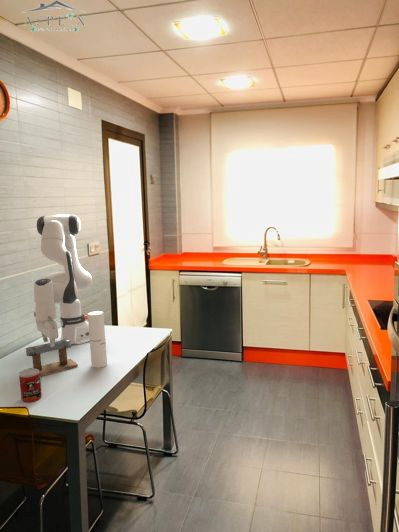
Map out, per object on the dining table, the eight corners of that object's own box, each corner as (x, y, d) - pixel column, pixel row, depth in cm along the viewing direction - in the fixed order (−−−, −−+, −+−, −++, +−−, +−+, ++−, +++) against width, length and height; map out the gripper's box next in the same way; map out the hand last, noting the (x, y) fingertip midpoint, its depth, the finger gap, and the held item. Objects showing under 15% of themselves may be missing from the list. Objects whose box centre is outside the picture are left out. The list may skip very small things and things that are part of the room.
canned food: (21, 404, 175) (19, 377, 173) (21, 396, 182) (18, 370, 180) (42, 400, 178) (40, 373, 176) (41, 392, 185) (38, 366, 183)
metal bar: (69, 344, 216) (68, 338, 216) (72, 346, 213) (71, 340, 212) (25, 354, 204) (24, 347, 204) (27, 356, 201) (27, 350, 200)
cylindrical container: (90, 363, 216) (86, 312, 212) (105, 360, 219) (101, 310, 215) (93, 368, 209) (89, 315, 206) (108, 365, 212) (104, 313, 208)
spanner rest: (70, 360, 220) (68, 342, 219) (77, 366, 212) (76, 347, 211) (23, 372, 208) (21, 353, 206) (29, 378, 200) (27, 359, 198)
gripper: (60, 318, 199) (63, 348, 201) (46, 309, 216) (48, 337, 218) (46, 320, 196) (49, 351, 198) (32, 312, 212) (35, 340, 214)
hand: (48, 344), depth 208 cm, fingers open, 8 cm apart
